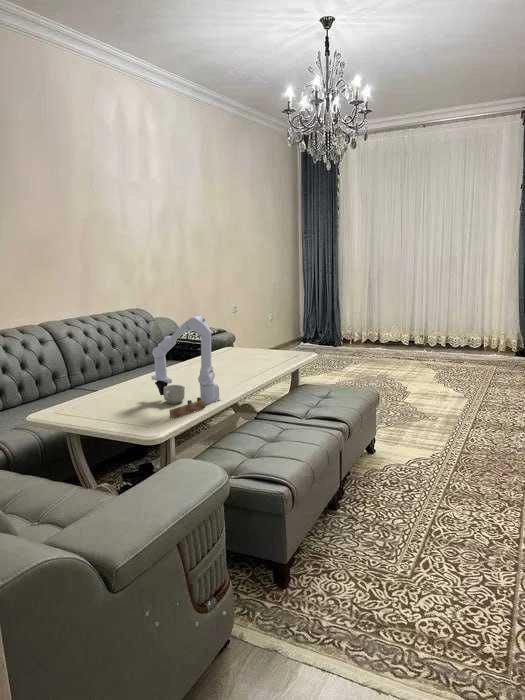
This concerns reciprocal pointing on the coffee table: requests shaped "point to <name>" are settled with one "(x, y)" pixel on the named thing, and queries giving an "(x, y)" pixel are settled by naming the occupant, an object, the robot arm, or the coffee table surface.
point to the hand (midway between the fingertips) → (162, 394)
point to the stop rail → (187, 408)
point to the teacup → (174, 393)
